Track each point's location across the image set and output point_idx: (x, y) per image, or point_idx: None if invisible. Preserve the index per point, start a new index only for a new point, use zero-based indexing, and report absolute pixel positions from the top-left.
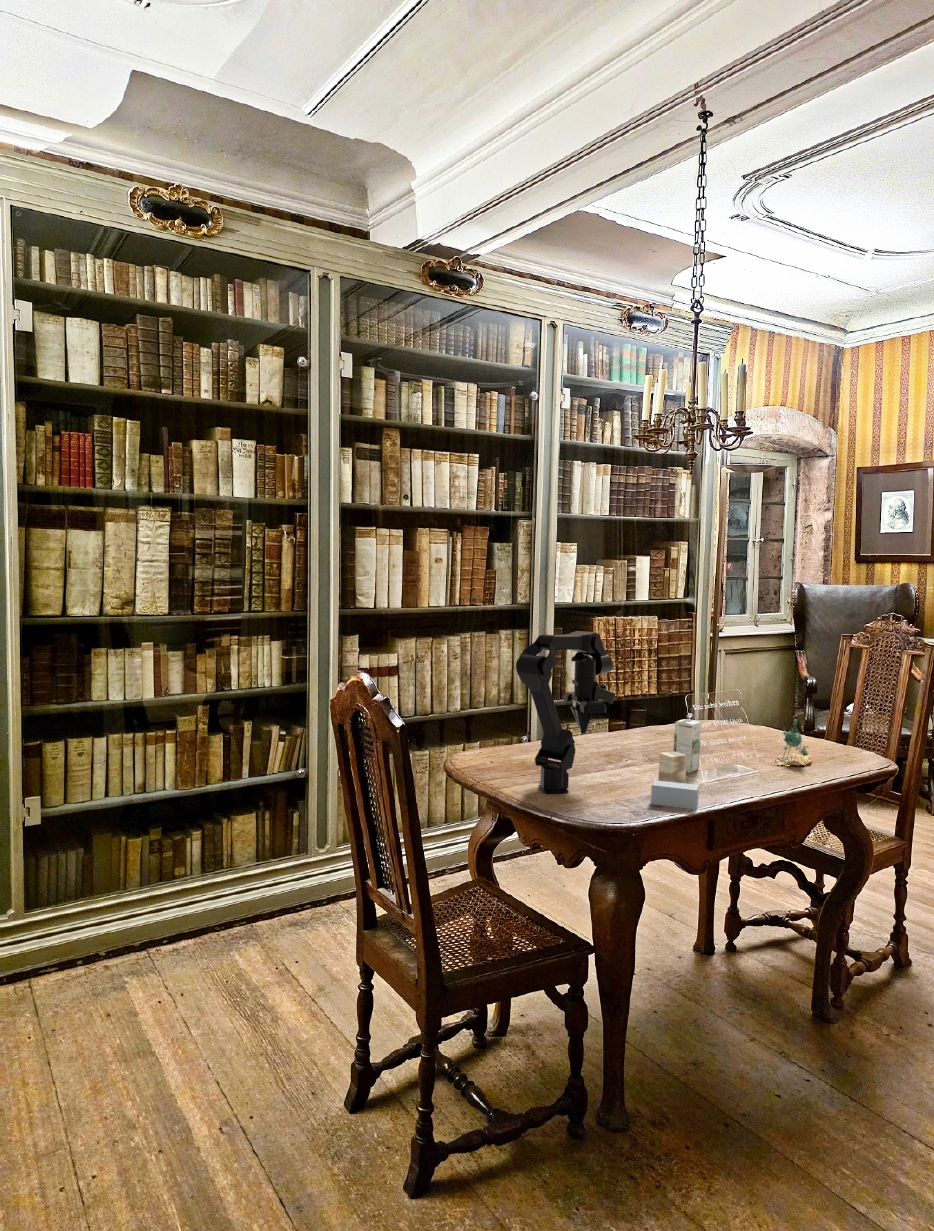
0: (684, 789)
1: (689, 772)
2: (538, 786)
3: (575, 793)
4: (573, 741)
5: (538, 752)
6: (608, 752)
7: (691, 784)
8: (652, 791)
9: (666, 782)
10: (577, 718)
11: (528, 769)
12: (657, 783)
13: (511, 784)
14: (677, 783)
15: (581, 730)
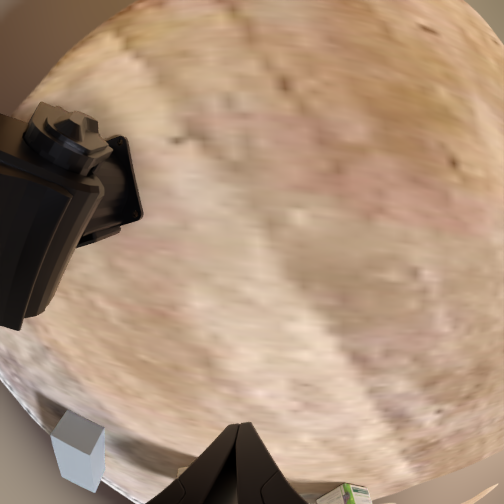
0: (59, 466)
1: (317, 499)
2: (120, 136)
3: (80, 259)
4: (4, 320)
5: (36, 109)
6: (497, 369)
7: (92, 487)
8: (56, 427)
9: (84, 465)
10: (182, 502)
11: (369, 115)
12: (68, 449)
13: (158, 51)
14: (87, 475)
15: (218, 437)
